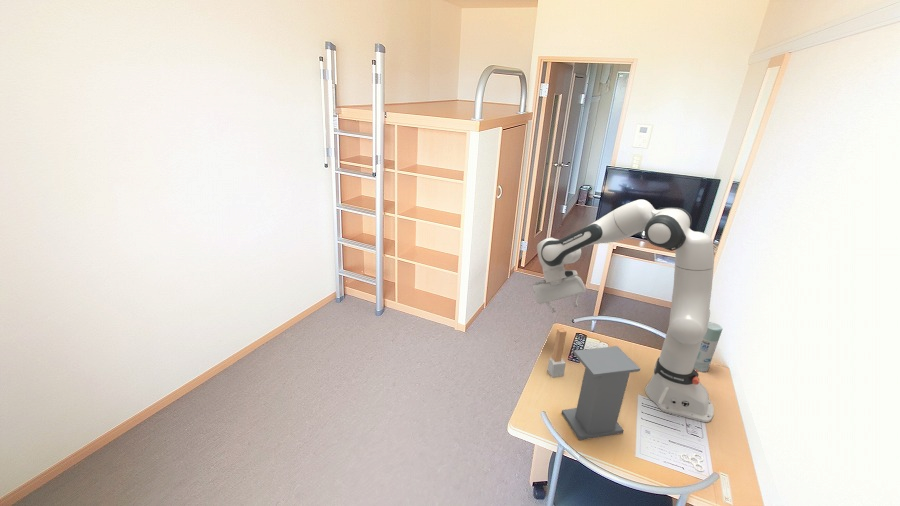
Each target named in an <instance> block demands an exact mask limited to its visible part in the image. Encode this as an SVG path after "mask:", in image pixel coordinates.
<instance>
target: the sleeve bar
mask: <svg viewBox="0 0 900 506" xmlns="http://www.w3.org/2000/svg"><path fill="white" fill-rule="evenodd" d="M566 335H567V331H566V329H565V328H563V327H561V328H557V329H556V334H555V340H554V345H553V346H554V347H553V352H552V355H551V356H552V357H549V358H548V364H547V374H549V376H550V377H551V378H557V377H564V373H565V370H566V369H565V368H566V362H565V360H564V359H563V358H562V357H563V354H564V353H563V351H564V346H565V341H566Z"/></svg>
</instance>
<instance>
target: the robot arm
mask: <svg viewBox="0 0 900 506" xmlns="http://www.w3.org/2000/svg"><path fill="white" fill-rule="evenodd" d="M692 224H693V219H692V215H691V214H690V213H689V212H688V211H687V210H686V209H684V208H681V207H675V206H670V207H668V206H667V207H666V206H665V207H664V206H662V207H661V206H660V207H658V208H655V207H654V206H653V204H651V202H649V201H648V200H646V199H636V200H633V201H631V202H628V203H624V204H623V205H621V206H619V207H617V208H615V209H613V210H612V211H610V212H608V213H607V214H605V215H603V216H601V217H600V218H598V219H597V220H595V221H594V222H592V223H589V224H588V225H587V226H585V227H583V228H582V229H579V230H577V231H575V232H573V233H571V234H569V235H567V236H565V237H563V238H561V239H558V238H554V237H546V238H544V239H541V240H540V241H539V242H538V243H537V246H536V251H537V256H538V261H539V263H540V265H541V267H542V274H543V277H544V279H543V280H540V281H536V282H534V284H533V285H532V291H533V292H534V293H535V299H536V302H537V304H538V305H542V304H546V307H548V308H549V309H550V312H551V313H556V312H557V311H556V308H555V307H553V306H552V303H551V302H553V301H557V300H561V299H565V298H569V297H574V298H575V302H573V305H574V308H576V307H579V298H580V295H581V294H585V293H586V292H587V288H586V286H585V284H584V281H583V280H582V277H580V276H579V274H578V271H577V270H575V269H566V268H565V265H568V264H569V265H570V264H574V263H576V262H578V261H579V260H580V259H581V257H582V249H583V248H585V247H588V246H592V245H599V244H608V243H609V244H610V243H615V242H620V241H623V240H626V239H628V238H631V237H632V236H634V235H636V234H637V233H641V232H644V238H645V239H646V240H647V242H648V243H649V244H651V245H652V246H655V247H658V248H661V249H665V250H668V251H669V252H670V251H673V252H674V253H675V254H674V255H675V256H674V257H675V260H674V274H673V275H674V276H673V287H672V296H671V303H670V311H669V323H668V329H667V331H666V334H665V338H664V341H663V343H662V347H661V350H660V355H659V357H658V358H657V360H656V362H655V366H654V369H653V375H652V377H651V379H650V381H648V383H647V385H646V386H645V388H644V390H645V393H646V396H647V397H648V399H650V400H651V401H652V402H654V403H655V405H656V406H657V407H658V409H659V410H661V411H662V412H664V413H665V412H666V413H668V414H673V415H676V416H680V417H684V418H688V419H691V420H695V421H697V422H698V421H699V422H703V423H709V422H711V421H712V420H713V417H714V411H715V408H714V405H713V403H712V401H711V399H710V397H709V396H710V395H709V392H708V389H707V388H706V387H705V386H704V385H703V384H702V382H700V378H699V373H698V372H699V371H697V369H696V370H695V369H694V365H695V362H696V359H697V356H698V353H699V350H700V346H701V343H702V340H703V337H704V336H705V334H706V332H707V328H708V323H709V322H710V318H711V309H710V307H711V306H710V305H711V297H712V289H713V277H714V269H715V249H714V243H713V239H712V237H711V236H710V235H709V234H707V233H705V232H702V231H695V230H692V229H691V228H692Z"/></svg>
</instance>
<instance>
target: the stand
mask: <svg viewBox="0 0 900 506" xmlns="http://www.w3.org/2000/svg"><path fill="white" fill-rule="evenodd" d="M572 353H573V354H574V356H575V357H576V358H577V359H578V361H579V362H580V363H581V364H582V366H583V367H584V371H583V377H582V382H581V386H580V392H579V396H578V401H577V404H576V405H577V406H576V407H575V408H566V409H562V410H561V415H562V417H563V418H564V420H565V421H566V423H567V425H568V426H569V427H570V429H571V430H572V432H573V434H574V435H575V437H576V438H577V440H578V441H584V440H585V441H586V440H590V439H599V438H603V437H604V438H605V437H611V436H615V435H622V434H624V428H623V427H622V426H621V425H620V424H619V422H618V419H619V416H620V412H621V409H622V404H623V400H624V396H625V393H626V389H627V385H628V382H629V377H630V374H631V373H637V372H639V373H640V372H641V367H640V366H638V365H637V363H635V362H634V361H633V360H632V359H631V358H630V356H628V355H627V353H626V352H625V351H623V350H622V349H621V348H620V347H619V346H618V345H615V346H603V347H597V348H585V349H576V350H573V352H572Z"/></svg>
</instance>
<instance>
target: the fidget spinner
mask: <svg viewBox="0 0 900 506" xmlns="http://www.w3.org/2000/svg"><path fill="white" fill-rule="evenodd" d="M683 456H685V457H686V456H687V457H686V458H687V459H686V458H684V457H683ZM697 457H699V458H700V459H699V458H697ZM679 458H680V459H681V461H683V460H684V461H683V462H685V461H686V462H685V463H689V464H691V465H692V467H693V469H694V470H695V471H697V472H699V473H703V472H704V471H705V468H704V466H703V465H702V464H701V462H703V461H704V457H703V456H702V455H701V454H698V453H693V454H692V456H691V455H688V454H686V453H681V454H679ZM693 460H695V461H696V462H694V461H693ZM697 466H698V467H700V468H701V469H700V468H698V467H697Z"/></svg>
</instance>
